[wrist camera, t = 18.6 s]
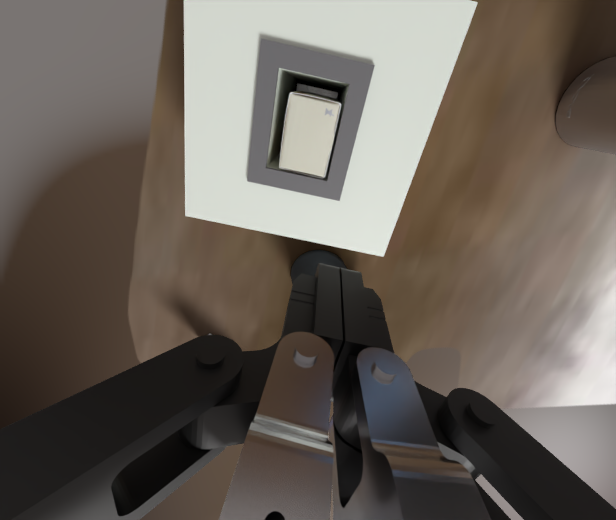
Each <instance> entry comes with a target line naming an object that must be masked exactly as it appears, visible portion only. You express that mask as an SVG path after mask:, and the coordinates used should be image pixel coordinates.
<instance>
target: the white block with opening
mask: <svg viewBox="0 0 616 520" xmlns="http://www.w3.org/2000/svg"><path fill="white" fill-rule="evenodd" d="M477 3H478V2H474V1H470V0H184V98H185V216H189V217H194V218H199V219H204V220H208V221H213V222H218V223H223V224H228V225H233V226H237V227H242V228H247V229H252V230H257V231H261V232H266V233H271V234H276V235H281V236H286V237H290V238H295V239H300V240H305V241H310V242H315V243H319V244H324V245H329V246H334V247H339V248H344V249H348V250H353V251H358V252H363V253H368V254H373V255H377V256H382V257H384V254H385V251H386V249H387V246H388V243H389V240H390V238H391V235H392V232H393V230H394V227H395V224H396V222H397V219H398V216H399V213H400V211H401V208H402V205H403V203H404V200H405V197H406V195H407V192H408V189H409V187H410V184H411V181H412V178H413V176H414V173H415V170H416V168H417V165H418V162H419V160H420V157H421V154H422V151H423V149H424V146H425V143H426V141H427V138H428V135H429V133H430V130H431V127H432V125H433V122H434V119H435V116H436V114H437V111H438V108H439V106H440V103H441V100H442V98H443V95H444V92H445V89H446V87H447V84H448V81H449V79H450V76H451V73H452V71H453V68H454V65H455V63H456V60H457V57H458V54H459V52H460V49H461V46H462V44H463V41H464V38H465V36H466V33H467V30H468V27H469V25H470V22H471V19H472V17H473V14H474V11H475V9H476V6H477ZM296 79H297V80H301V81H306V82H310V83H314V84H319V85H323V86H327V87H332V88H336V89H341V90H342V92H341V96H340V101H339V102H340V103H341V110H340V114H339V119H338V123H337V128H336V132H335V137H334V141H333V146H332V150H331V155H330V159H329V163H328V167H327V172H326V176H325V178H323V179H320V178H316V177H312V176H307V175H304V174H299V173H296V172H292V171H288V170H285V169H281V168H279V161H280V152H281V143H282V135H283V128H284V121H285V114H286V108H287V103H288V98H289V94H290V92H294V90H295V84H296Z"/></svg>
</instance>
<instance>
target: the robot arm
mask: <svg viewBox="0 0 616 520" xmlns="http://www.w3.org/2000/svg"><path fill="white" fill-rule="evenodd" d="M556 128H557V132H558V134H559V136H560V138H561V139H562V140H563V141H564V142H565V143H567V144H569V145H571V146H575V147H579V148H584V149H590V150H595V151H600V152H604V153H610V154H615V155H616V57H612V58H608V59H605V60H602V61H600V62H598V63H596V64H594V65H592V66H591V67H589V68H588V69H586V70H585V71H584V72H583V73H581V74H580V75H579V76H578V77H577V78H576V79H575V80H574V81H573V82H572V83H571V85H570V86H569V87H568V89H567V90H566V92H565V93H564V95H563V96H562V99H561V101H560V103H559V105H558V109H557V113H556ZM331 401H332V402H333V406H334V408H333V412H334V413H333V415H332V417H331V420H330V422H329V416H330V405H331ZM328 432H329V440H328ZM242 443H244V445H243V448H242V451H241V454H240V458H239V460H238V463H237V466H236V469H235V472H234V475H233V478H232V482H231V485H230V487H229V491H228V493H227V497H226V500H225V503H224V506H223V509H222V512H221V515H220V518H219V520H330V507H331V491H332V493H333V520H511V519H510V518H509V517H508V516H507V515H506V514H505V513H504V512H503V510H502V509H501V508H500V507H499V506H498V505H497V504H496V503H495V502H494V501H493V500H492V498H491V497H490V496H489V495H488V494H487V493H486V492H485V491H484V490H483V489H482V487H481V486H480V485H479V484H478V483H477V482H476V481H475V479H476V478H477V477H478V476H479V475H480V474H482V475H483V476H484V477H485V479H486V480H487V481H488V482H489V483H490V484H491V485H492V486H493V487H494V488H495V489H496V490H497V491H498V492H499V493H500V494H501V496H502V497H503V498H504V499H505V500H506V501H507V502H508V503H509V504H510V505H511V506H512V507H513V508H514V509H515V511H516V512H517V513H518V514H519V515H520V516H521V517H522V518H523V519H524V520H616V509H615V508H614V507H613V506H611V505H610V504H609V503H608V502H607V501H606V500H605V499H603V498H602V497H601V496H600V495H599V494H598V493H596V492H595V491H594V490H593V489H592V488H591V487H590V486H588V485H587V484H586V483H585V482H584V481H583V480H581V479H580V478H579V477H578V476H577V475H576V474H575V473H573V472H572V471H571V470H570V469H569V468H567V467H566V466H565V465H564V464H563V463H562V462H561V461H559V460H558V459H557V458H556V457H555V456H554V455H553V454H552V453H550V452H549V451H548V450H547V449H546V448H545V447H543V446H542V445H541V444H540V443H539V442H537V440H535V439H534V438H533V437H532V436H531V435H530V434H528V433H527V432H526V431H525V430H524V429H523V428H522V427H520V426H519V425H518V424H517V423H516V422H515V421H514V420H512V419H511V418H510V417H509V416H508V415H507V414H505V413H504V412H503V411H502V410H501V409H500V408H499V407H497V406H496V405H495V404H494V403H493V402H492V401H490V400H489V399H488V398H486V397H485V396H483V395H481V394H480V393H478V392H475V391H473V390H470V389H466V388H457V389H454V390H452V391H451V392H450V393H449V395H448V396H447V397H445V396H443V395H441V394H439V393H437V392H435V391H432V390H430V389H428V388H426V387H424V386H422V385H421V384H419V383H417V382H416V381H414V379H413V376H412V374H411V371H410V369H409V368H408V366H407V365H406V364H405V362H404V361H403V360H402V359H401V358H399V357H398V356H397V355H395V354H394V351H393V347H392V343H391V339H390V335H389V331H388V327H387V323H386V321H385V315H384V312H383V307H382V302H381V299H380V298H379V297H378V295H377V294H376V293H375V292H374V290H373V289H369V288H365V287H364V286H363V280H362V274H361V272H357V271H353V270H348V269H344V268H340V269H339V267H335V266H330V265H326V264H321V263H319V264H318V266H317V270H316V273H315V276H311V275H306V274H302V273H301V274H300V275H299V276H298V277H297V278H296V279H295V280H294V282H293V286H292V290H291V295H290V299H289V303H288V308H287V312H286V316H285V321H284V326H283V331H282V335H281V338H280V340H279V341H278V342H277V343H276V344H274V345H273V346H271V347H269V348H266V349H263V350H257V351H244V352H242V350H241V348H240V347H239V345H238V344H237V343H235V342H234V341H233V340H231V339H229V338H227V337H224V336H220V335H205V336H201V337H197V338H195V339H193V340H190V341H188V342H186V343H184V344H182V345H180V346H178V347H175V348H173V349H171V350H169V351H167V352H165V353H163V354H160V355H158V356H156V357H154V358H152V359H150V360H148V361H145V362H143V363H141V364H139V365H137V366H135V367H133V368H131V369H128V370H126V371H124V372H122V373H120V374H118V375H115V376H114V377H111V378H109V379H107V380H105V381H103V382H101V383H98V384H96V385H94V386H92V387H90V388H88V389H86V390H83V391H81V392H79V393H77V394H75V395H73V396H71V397H69V398H66V399H64V400H62V401H60V402H58V403H56V404H53V405H51V406H49V407H47V408H45V409H43V410H41V411H38V412H36V413H34V414H32V415H30V416H28V417H26V418H24V419H21V420H19V421H17V422H15V423H13V424H11V425H9V426H6V427H4V428H2V429H0V520H139V519H141V518H142V517H143V516H144V515H146V514H147V513H148V512H149V511H150V510H152V509H153V508H154V507H155V506H157V505H158V504H159V503H160V502H161V501H163V500H164V499H165V498H166V497H167V496H169V495H170V494H171V493H172V492H174V491H175V490H176V489H177V488H178V487H180V486H181V485H182V484H183V483H185V482H186V481H187V480H188V479H189V478H191V477H192V476H193V475H194V474H195V473H197V472H198V471H199V470H200V469H202V468H203V467H204V466H205V465H206V464H208V463H209V462H210V461H211V460H212V459H214V458H215V457H216V456H217V455H219V454H220V453H221V452H222V451H223V450H224V449H225V447H226V446H231V445H237V444H242Z"/></svg>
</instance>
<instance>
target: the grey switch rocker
mask: <svg viewBox="0 0 616 520" xmlns="http://www.w3.org/2000/svg"><path fill="white" fill-rule="evenodd" d="M296 91H305V92H310V93H315V94H319V95H323V96H327V97H331V98H334V99H337V96H338V92H334V91H329V90H325V89H321V88H316V87H312V86H308V85H303V84H299V83H297V90H296Z"/></svg>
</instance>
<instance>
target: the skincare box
mask: <svg viewBox="0 0 616 520" xmlns="http://www.w3.org/2000/svg"><path fill="white" fill-rule="evenodd" d="M340 110H341V103H340V102H339V101H338V100H337V99H334V98H331V97H327V96H323V95H319V94H315V93H310V92H305V91H295V92H290V94H289V98H288V103H287V108H286V114H285V121H284V128H283V135H282V143H281V152H280V161H279V168H281V169H285V170H288V171H292V172H296V173H299V174H304V175H307V176H312V177H316V178H320V179H323V178H325V176H326V172H327V167H328V163H329V159H330V155H331V150H332V146H333V141H334V137H335V132H336V128H337V123H338V119H339V114H340Z"/></svg>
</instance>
